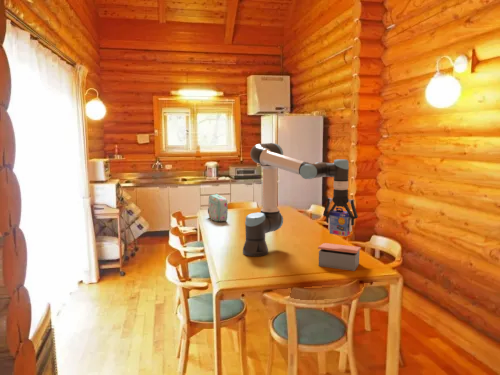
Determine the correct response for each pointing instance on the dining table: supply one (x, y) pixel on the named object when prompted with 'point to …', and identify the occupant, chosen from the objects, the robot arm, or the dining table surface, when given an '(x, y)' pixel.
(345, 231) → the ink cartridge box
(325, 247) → the lid
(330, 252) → the box
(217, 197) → the lunch box
